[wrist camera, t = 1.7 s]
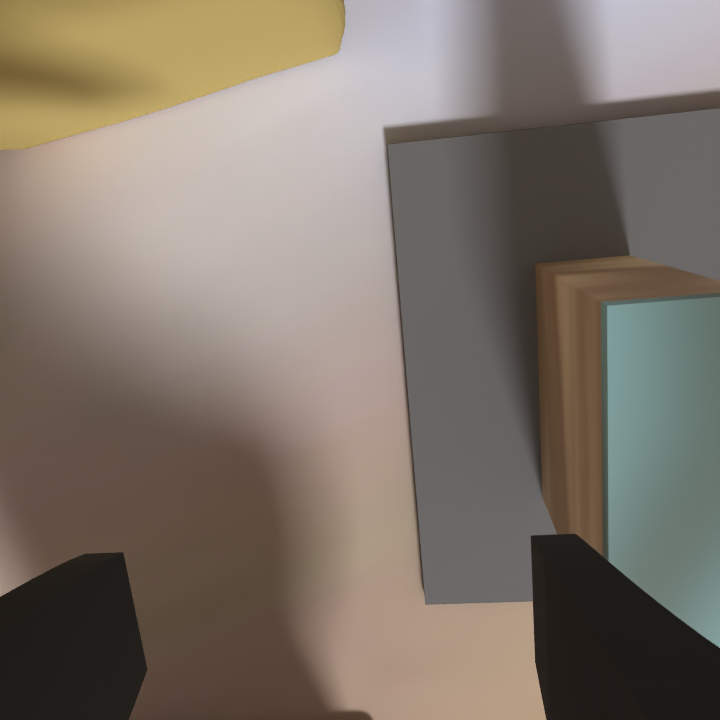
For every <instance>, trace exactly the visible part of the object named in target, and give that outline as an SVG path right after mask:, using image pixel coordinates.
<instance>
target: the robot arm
mask: <svg viewBox="0 0 720 720" xmlns="http://www.w3.org/2000/svg"><path fill="white" fill-rule="evenodd" d="M531 560H532V587H533V614H534V641H535V663H536V668H537V673H538V678H539V684H540V689H541V694H542V699H543V704H544V709H545V714H546V719H547V720H720V648H719V647H718V646H716V645H715V644H714V643H712V642H711V641H709V640H708V639H706V638H705V637H704V636H702V635H701V634H699V633H698V632H697V631H695V630H694V629H693V628H691V627H690V626H689V625H687V624H686V623H685V622H683V621H682V620H681V619H679V618H678V617H677V616H675V615H674V614H673V613H671V612H670V611H669V610H667V609H666V608H665V607H664V606H662V605H661V604H660V603H659V602H657V601H656V600H655V599H653V598H652V597H651V596H650V595H648V594H647V593H646V592H645V591H643V590H642V589H641V588H640V587H639V586H637V585H636V584H635V583H634V582H632V581H631V580H630V579H629V578H628V577H626V576H625V575H624V574H623V573H622V572H621V571H619V570H618V569H617V568H616V567H615V566H613V565H612V564H611V563H610V562H609V561H607V560H606V559H605V558H604V557H603V556H602V555H601V554H599V553H598V552H597V551H596V550H595V549H594V548H592V547H591V546H590V545H589V544H588V543H587V542H585V541H584V540H583V539H582V538H580V537H579V536H578V535H577V534H554V535H531ZM146 671H147V666H146V661H145V657H144V652H143V647H142V642H141V637H140V632H139V627H138V622H137V618H136V613H135V608H134V603H133V598H132V593H131V588H130V583H129V579H128V574H127V569H126V564H125V559H124V554H123V552H120V553H96V554H84V555H81V556H79V557H76V558H74V559H71V560H69V561H67V562H65V563H63V564H61V565H59V566H57V567H55V568H53V569H51V570H49V571H47V572H45V573H43V574H41V575H39V576H37V577H36V578H34V579H32V580H30V581H28V582H26V583H24V584H23V585H21V586H19V587H17V588H15V589H14V590H12V591H10V592H8V593H6V594H5V595H3V596H1V597H0V720H128V719H129V717H130V714H131V712H132V710H133V707H134V704H135V702H136V699H137V696H138V693H139V691H140V688H141V685H142V682H143V680H144V677H145V674H146Z"/></svg>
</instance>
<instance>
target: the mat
mask: <svg viewBox="0 0 720 720" xmlns="http://www.w3.org/2000/svg"><path fill="white" fill-rule="evenodd" d="M387 146H388V158H389V170H390V182H391V195H392V207H393V219H394V231H395V243H396V255H397V267H398V279H399V291H400V303H401V316H402V328H403V340H404V352H405V364H406V376H407V388H408V400H409V412H410V425H411V437H412V449H413V461H414V473H415V485H416V497H417V509H418V521H419V533H420V546H421V558H422V570H423V582H424V594H425V605H427V604H460V603H493V602H525V601H533V587H532V560H531V535H554V534H557V532H556V530H555V527H554V525H553V522H552V520H551V517H550V515H549V513H548V510H547V508H546V505H545V503H544V500H543V495H542V463H541V432H540V401H539V369H538V338H537V307H536V275H535V264H536V263H547V262H559V261H570V260H582V259H593V258H605V257H616V256H628V255H631V256H634V257H638V258H641V259H645V260H648V261H652V262H655V263H659V264H662V265H666V266H670V267H673V268H677V269H680V270H684V271H687V272H691V273H694V274H698V275H701V276H705V277H708V278H712V279H715V280H719V281H720V108H717V109H708V110H699V111H690V112H681V113H671V114H662V115H653V116H644V117H635V118H626V119H616V120H607V121H598V122H589V123H580V124H571V125H561V126H552V127H543V128H534V129H525V130H516V131H506V132H497V133H488V134H479V135H470V136H461V137H451V138H442V139H433V140H424V141H415V142H406V143H396V144H387Z"/></svg>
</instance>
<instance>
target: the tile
mask: <svg viewBox="0 0 720 720" xmlns="http://www.w3.org/2000/svg"><path fill="white" fill-rule="evenodd" d="M535 275H536V307H537V338H538V369H539V401H540V432H541V463H542V495H543V500H544V503H545V505H546V508H547V510H548V513H549V515H550V517H551V520H552V522H553V525H554V527H555V530H556V532H557V534H577V535H578V536H579V537H580V538H582V539H583V540H584V541H585V542H587V543H588V544H589V545H590V546H591V547H592V548H594V549H595V550H596V551H597V552H598V553H599V554H601V555H602V556H603V557H604V558H605V559H606V560H607V561H609V562H610V563H611V564H612V565H613V566H615V567H616V568H617V569H618V570H619V571H621V572H622V573H623V574H624V575H625V576H626V577H628V578H629V579H630V580H631V581H632V582H634V583H635V584H636V585H637V586H639V587H640V588H641V589H642V590H643V591H645V592H646V593H647V594H648V595H650V596H651V597H652V598H653V599H655V600H656V601H657V602H659V603H660V604H661V605H662V606H664V607H665V608H666V609H667V610H669V611H670V612H671V613H673V614H674V615H675V616H677V617H678V618H679V619H681V620H682V621H683V622H685V623H686V624H687V625H689V626H690V627H691V628H693V629H694V630H695V631H697V632H698V633H699V634H701V635H702V636H704V637H705V638H706V639H708V640H709V641H711V642H712V643H714V644H715V645H716V646H718V647H719V648H720V281H719V280H715V279H712V278H708V277H705V276H701V275H698V274H694V273H691V272H687V271H684V270H680V269H677V268H673V267H670V266H666V265H662V264H659V263H655V262H652V261H648V260H645V259H641V258H638V257H634V256H631V255H628V256H616V257H605V258H593V259H582V260H570V261H559V262H547V263H536V264H535Z"/></svg>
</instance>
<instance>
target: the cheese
mask: <svg viewBox="0 0 720 720" xmlns="http://www.w3.org/2000/svg"><path fill="white" fill-rule="evenodd" d="M344 28H345V7H344V0H0V150H11V149H26V148H30V147H33V146H37V145H40V144H43V143H47V142H50V141H54V140H57V139H61V138H65V137H68V136H72V135H76V134H79V133H83V132H87V131H90V130H94V129H98V128H101V127H105V126H108V125H112V124H116V123H119V122H122V121H126V120H129V119H132V118H136V117H139V116H142V115H146V114H149V113H152V112H156V111H159V110H162V109H165V108H168V107H171V106H174V105H177V104H180V103H183V102H186V101H190V100H193V99H196V98H199V97H202V96H205V95H208V94H211V93H214V92H217V91H220V90H223V89H226V88H229V87H232V86H234V85H237V84H240V83H243V82H246V81H249V80H252V79H255V78H258V77H262V76H265V75H268V74H271V73H275V72H278V71H281V70H285V69H288V68H292V67H295V66H298V65H302V64H305V63H309V62H312V61H315V60H319V59H322V58H325V57H328V56H332V55H334V54H336V53H338V51H339V50H340V46H341V41H342V37H343V33H344Z"/></svg>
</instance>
